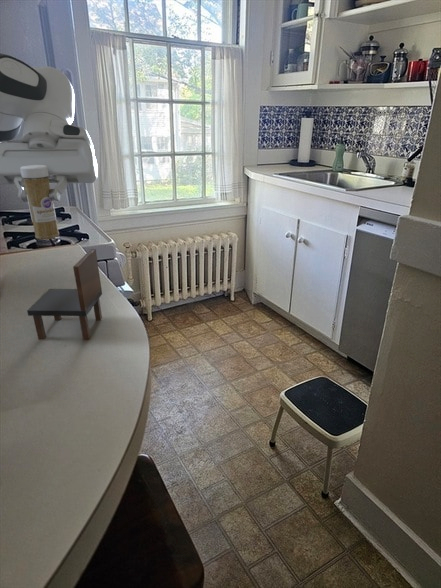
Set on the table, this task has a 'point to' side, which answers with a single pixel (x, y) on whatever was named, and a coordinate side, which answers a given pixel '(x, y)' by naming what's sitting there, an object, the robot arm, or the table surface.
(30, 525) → the table surface
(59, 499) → the table surface
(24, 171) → the sprinkles bottle
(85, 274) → the chair
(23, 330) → the table surface
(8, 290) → the table surface
